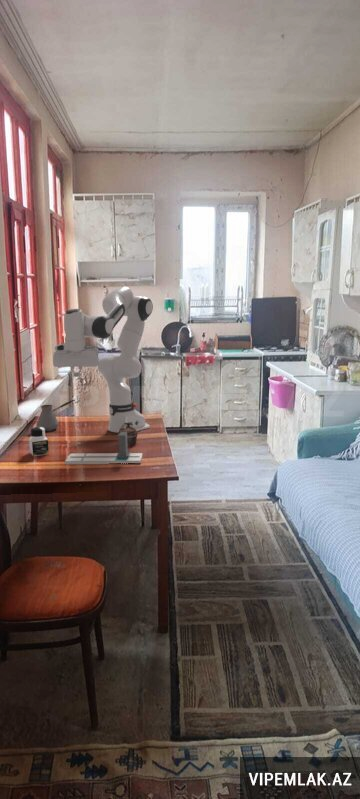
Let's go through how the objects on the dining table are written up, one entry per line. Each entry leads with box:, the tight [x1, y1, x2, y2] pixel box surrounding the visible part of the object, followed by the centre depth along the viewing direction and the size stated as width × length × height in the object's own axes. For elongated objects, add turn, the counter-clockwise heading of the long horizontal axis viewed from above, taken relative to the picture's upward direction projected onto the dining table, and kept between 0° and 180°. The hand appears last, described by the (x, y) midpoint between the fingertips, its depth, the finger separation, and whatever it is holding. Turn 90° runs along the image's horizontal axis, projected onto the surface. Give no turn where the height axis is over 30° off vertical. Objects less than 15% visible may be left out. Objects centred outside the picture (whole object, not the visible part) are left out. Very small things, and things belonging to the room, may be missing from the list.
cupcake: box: [117, 422, 139, 447], centre depth 238 cm, size 10×10×10 cm
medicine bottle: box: [28, 426, 50, 457], centre depth 224 cm, size 7×7×12 cm
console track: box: [64, 452, 144, 465], centre depth 214 cm, size 32×10×2 cm, turn 89°
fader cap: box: [117, 432, 131, 458], centre depth 213 cm, size 5×7×10 cm
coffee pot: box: [36, 398, 77, 432], centre depth 267 cm, size 21×12×15 cm, turn 115°
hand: (76, 376), depth 224 cm, fingers closed
